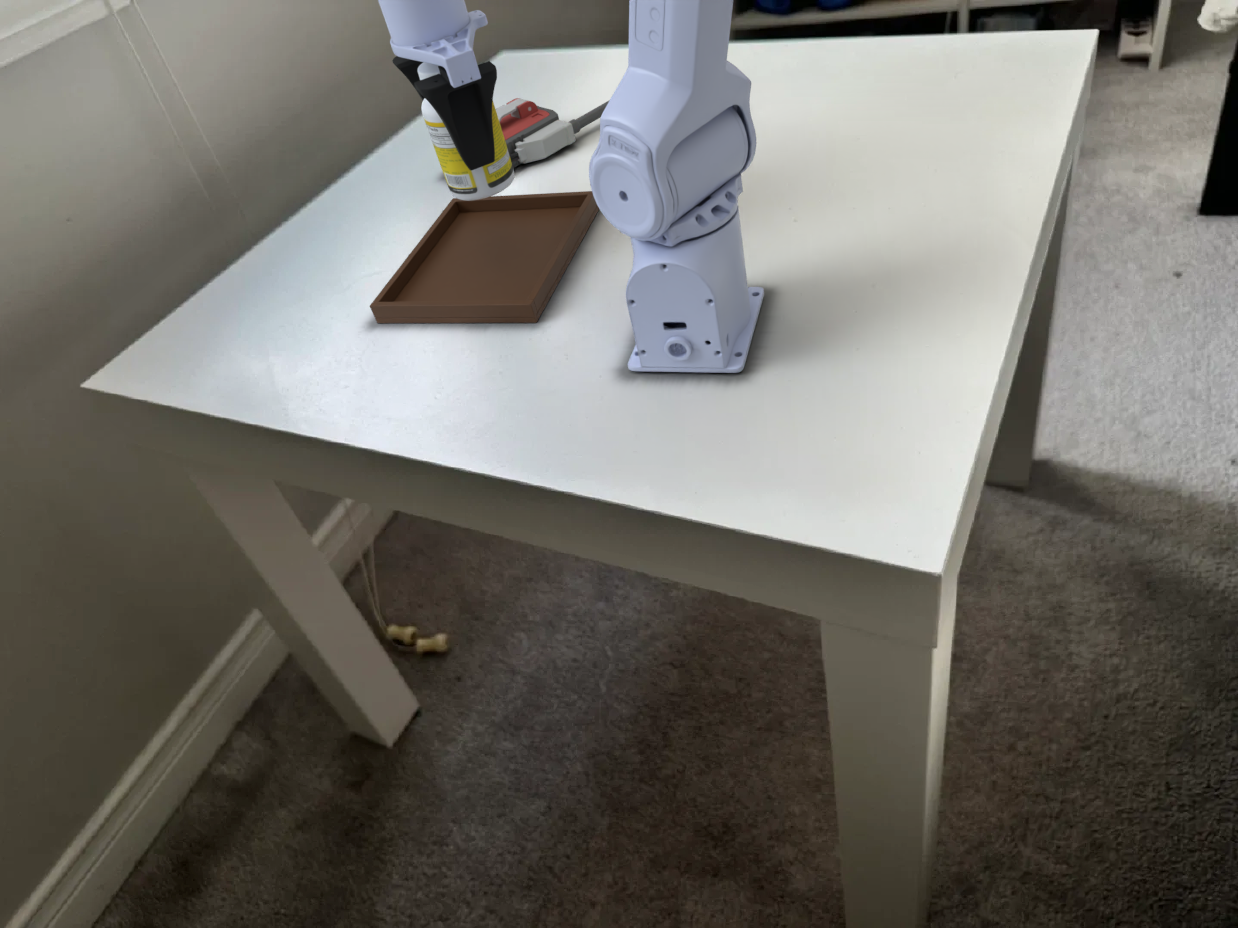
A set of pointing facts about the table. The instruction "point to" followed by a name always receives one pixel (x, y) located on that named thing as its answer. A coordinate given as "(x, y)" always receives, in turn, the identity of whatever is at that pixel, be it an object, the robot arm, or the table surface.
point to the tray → (488, 260)
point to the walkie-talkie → (538, 129)
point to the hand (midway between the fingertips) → (470, 152)
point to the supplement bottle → (454, 169)
